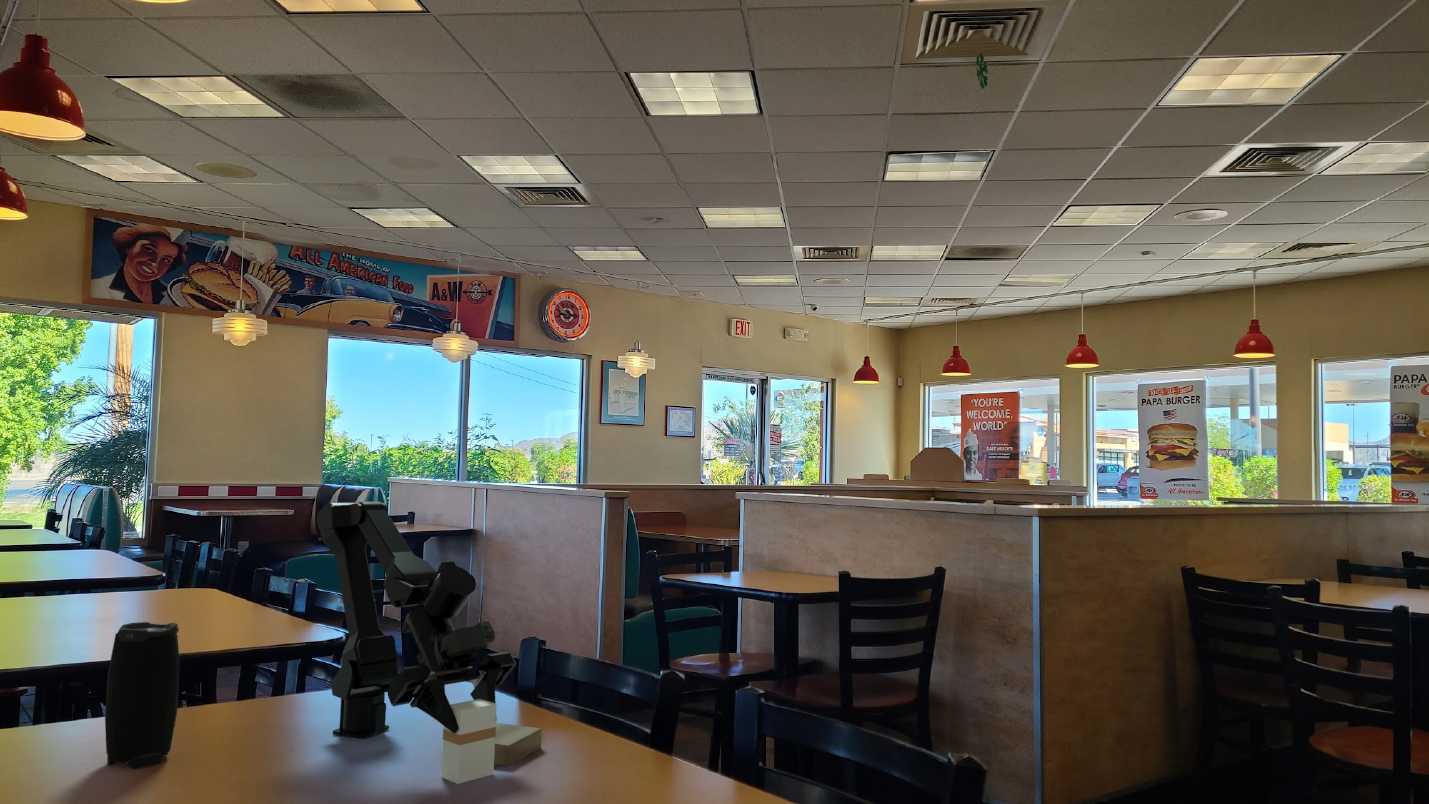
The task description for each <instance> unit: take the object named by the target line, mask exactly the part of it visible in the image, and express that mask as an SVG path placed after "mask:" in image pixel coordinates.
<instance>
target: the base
mask: <svg viewBox="0 0 1429 804" xmlns="http://www.w3.org/2000/svg"><path fill="white" fill-rule="evenodd" d="M541 747H542V728H541V727H533V726H532V727H531V726H524V725H516V724H508V723H501V722H496V737H495V751H494V765H496V766H497V765H498V766H504V767H509V766H511V765H512V764H514V763H516V762H518V761H520V760H521V759H523V758H525V757H527V756H528V755H530V754H532V753H534V752H536V751H538V750H540V749H541Z"/></svg>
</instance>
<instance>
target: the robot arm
mask: <svg viewBox="0 0 1429 804" xmlns="http://www.w3.org/2000/svg"><path fill="white" fill-rule="evenodd" d="M316 524H317V529H319V533H320V536H321V540H322V543H323V544H324V546H325V547H327V548H328V549H329V551H330V552H331V553H332V554H333V555H334V557H335V560H336V562H335V563H336V565H337V566H336V568H337V573H338V578H339V579H338V581H339V585H340V592H341V597H342V603H343V610H344V613H345V614H344V615H345V621H346V627H347V632H348V633H347V634H348V639H347V641H346V645H345V646H344V649H343V651H342V654H341V666H340V667H339V670H338V671H337V672H336V674H335V675H334V677H333V679H331V681H330V682H331V694H332V696H334V697H337V698H339V699H340V711H339V712H340V713H339V727H338V728H336V729H333V730H332V735H339V736H345V737H352V738H353V737H354V738H360V739H364V738H369V737H372V736H374V735H377V734H378V733H381V732H385V731H386V730H388V729H390V725H388V724H386V718H387V716H386V715H387V703H386V702H385V701H386V699H385V696H386V693H387V697H388V700H389V702H390V704H391V705H390V706H392V707H397V706H398V707H399V706H402V705H407V704H409V706H410V707H411V709H413V708H417V709H418V710H420V711H422V712H424V713H425V714H427V716H430V717H431V718H432V719H434V720H436V722H438V723H440V724H441V725H442V726H443V727H444V726H445V727H446V728H447V729H449V730H450V731H451V732H453V733H456V732H457V731H458V730H459V727H458V724H457V720H456V717H455V715H454V713H453V711H452V708H451V706H450V705H451V704H450V702H449V699H448V697H447V695H446V686H447V685H452V684H457V683H463V682H468V681H470V682H471V683H472V686H473V687H474V688H473V690H472V691H471V693H470V696H471V698H472V700H476V699H483V700H486V701H489V702H492V703H496V688H498V687H499V686H501V685H502V684H503V683H504V682H505V680H506V679H507V678H508V677H509V675H510V674H511V672H512V671H513V670H514V668H515V667H516V666H517V662H516V661H515V658H514V657H513V655H512V654H511V652H508V651H503V652H501V651H500V652H495V653H490V654H486V655H485V657H484V658H483V659H482V661H481V662H480V664H479V665H474V666H473V665H472V666H471V664H470V663H471V662H473V661H475V659H477V657H478V655H477V652H478V651H480V650H482V649H486V648H488V646H489V645H488V644H491V643H492V642H495V638H496V635H495V630H494V628H493V626H492V624H491V622H490V621H489V620H486V621H485V620H484V621H480V622H478V623H477V624H476V623H475V624H474V625H473V626H466V627H465V626H464V627H460V628H457V629H455V628H454V626H453V623H452V621H451V619H453V618H455V617H457V616H458V614H459V613H460V612H461V611H462V609H463V607H464V606H465V605H466V604H467V601H468V600H469V599H470V597H471V596H472V594H473V593H474V592H475V590H476V587H477V581H476V578H475V577H474V575H473V574H471V573H470V572H469V571H468V570H466V569H464V568H463V567H460V566H457V565H456V563H455V561H454V560H449V561H448V560H447V561H445V560H444V561H441V562H440V565H439V566H438V569H437V570H436V569H435V568H434V567H433V566H432V565H431V563H429V562H428V561H427V560H426V559H424V558H421V557H418V556H417V555H415V554H414V553H413V551H411V550H412V549H410V547H409V545H408V543H407V542H406V540H405V539H404V537H403V535H402V534H401V533H400V530H399V529H398V528H397V526H396V524H395V523H394V521H393V520H392V518H391V516H390V514H389V507H388V505H387V504H386V503H384V502H382V501H359V502H327V503H325V504H324V505H323V508H321V509H319V511H318V512H317V516H316ZM368 544H369V547H370V549H371V550H372V552H373V554H374V555H375V557H376V559H377V561H378V562H379V563H380V565H381V567H382V569H383V572H384V573H385V577H384V581H383V587H384V590H385V593H386V596H387V599H388V600H389V602H390V604H392V606H393V607H394V608H409V607H412V608H411V611H409V613H407V614H406V616H405V619H404V622H403V624H402V628H401V631H402V633H404V634H405V633H411V634H412V635H413V638H414V640H415V643H416V644H417V645H416V646H417V647H418V650H419V652H418V654H417V656H416V659H417V661H418V663H425V664H417V665H411V666H405V667H401V668H400V662H399V658H400V657H399V655H398V652H397V647H396V640H395V637H394V635H393V634H387V635H386V634H385V633H384V632H383V630H382V629H381V628H380V623H379V618H378V612H377V605H376V601H375V595H374V589H373V585H372V584H373V583H372V577H371V573H370V566H369V562H368V557H367V550H366V549H367V548H366V547H367V545H368ZM496 704H497V703H496ZM497 720H498V719H497V717H496V721H497Z"/></svg>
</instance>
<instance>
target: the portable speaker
mask: <svg viewBox="0 0 1429 804" xmlns="http://www.w3.org/2000/svg"><path fill="white" fill-rule="evenodd" d="M178 624H179V623H176V622H169V623H167V624H165V623H164V624H163V623H162V624H160V623H151V622H148V621H143V622H140V621H139V622H129V623H125V624H122V626H120V627H119V629H118V631H117V633H115V635H114V636H115V637H114V640H113V645H112V646H113V647H112V650H111V655H110V661H109V666H108V670H107V671H108V672H107V683H106V696H105V697H106V698H105V710H104V711H105V714H104V724H105V726H104V727H105V748H106V754H107V756H106V757H107V758H106V759H107V760H106V763H107V766H109V767H111V766H114V765H115V763H122V764H127V765H128V767H130V768H131V769H134V770H136V769H140V768H146V767H149V766H150V767H151V766H153V765H158V764H160V763H161V762H162V760H164V757H165V756H167V755H168V754H169V752H170V751H171V748H172V742H173V737H174V731H175V728H176V720H177V713H178V707H179V705H178V703H179V685H180V684H179V683H180V666H181V665H180V664H181V662H180V651H179V650H180V649H179V637H178V633H179V628H180V627H178Z"/></svg>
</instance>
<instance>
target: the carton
mask: <svg viewBox="0 0 1429 804" xmlns="http://www.w3.org/2000/svg"><path fill="white" fill-rule="evenodd" d="M450 706H451V708H452V711H453V713H454V715H455V717H456V720H457V724H458V727H459V730H458V731H457V732H456V733H453V732H451V731H450V730H449V729H447V728H446V727H445V726H443V730H442V755H441V756H442V759H441V778H443V779H445V780H447V781H449V782H451V783H454V784H456V785H460V784H463V783H466V782H470V781H474V780H478V779H482V778H486V777H490V776H492V775H494V774H495V773H494V770H495V769H494V768H495V767H494V766H495V764H494V751H495V737H496V723H497V720H496V718H497V703H492V702H489V701H486V700H483V699H476V700H474V699H472V700H468V701H467V700H466V701H463V702H462V701H461V702H457V703H452V704H450Z"/></svg>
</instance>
